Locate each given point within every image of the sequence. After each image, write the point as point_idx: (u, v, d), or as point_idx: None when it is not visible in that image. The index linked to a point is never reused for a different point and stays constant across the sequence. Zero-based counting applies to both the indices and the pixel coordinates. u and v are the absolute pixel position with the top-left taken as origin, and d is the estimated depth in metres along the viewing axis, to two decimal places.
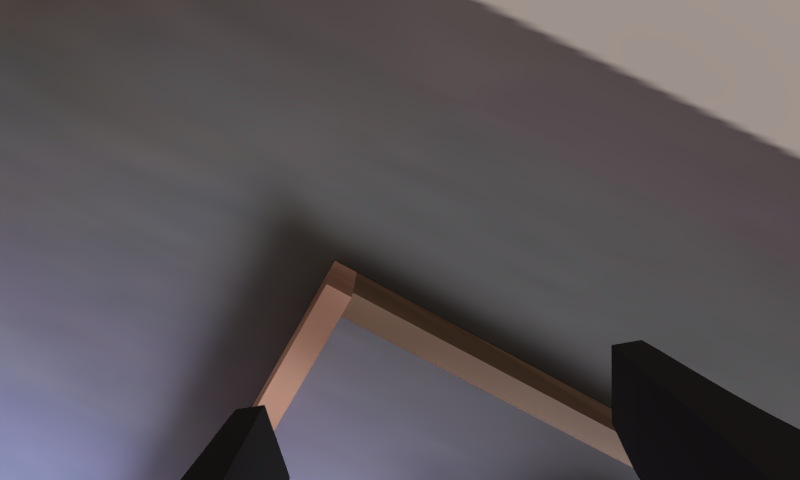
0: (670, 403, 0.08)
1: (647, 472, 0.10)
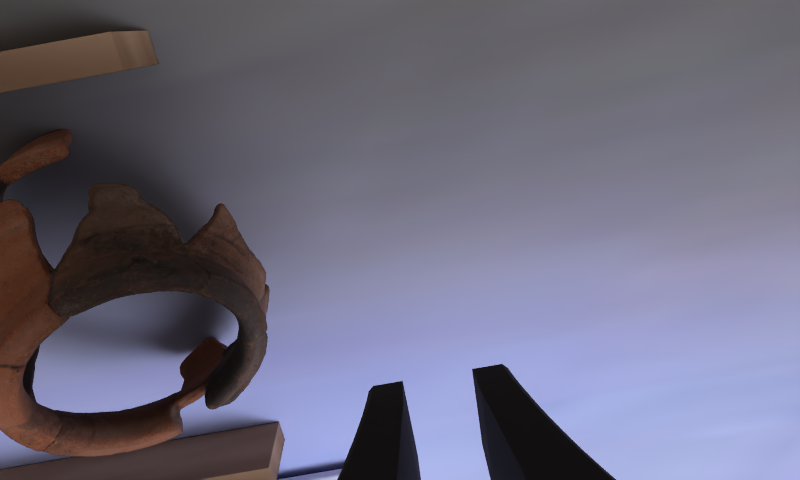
0: (498, 432, 0.08)
1: None
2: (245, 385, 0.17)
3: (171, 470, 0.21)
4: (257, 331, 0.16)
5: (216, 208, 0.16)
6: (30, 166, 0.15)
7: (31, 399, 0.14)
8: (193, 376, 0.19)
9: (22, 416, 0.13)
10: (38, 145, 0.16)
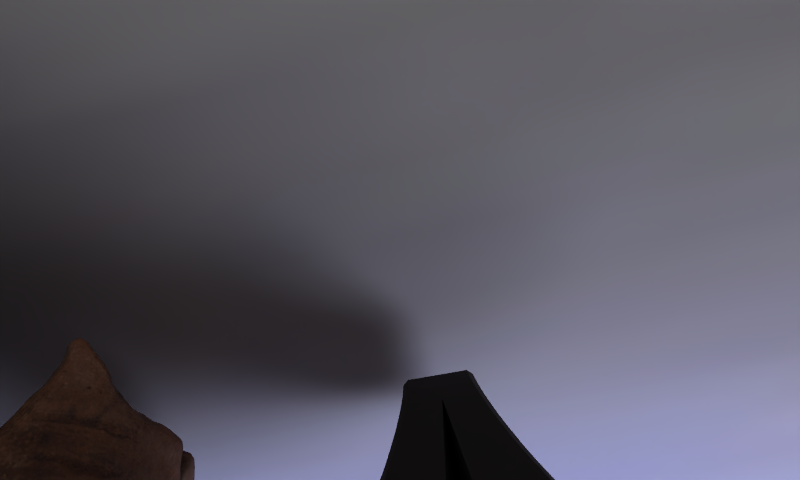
0: (455, 439, 0.08)
1: None
2: None
3: None
4: None
5: (68, 350, 0.08)
6: None
7: None
8: None
9: None
10: None
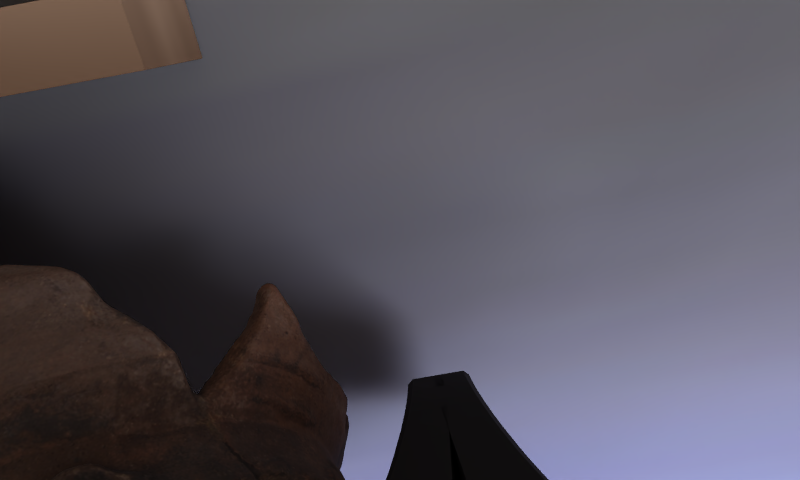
0: (450, 440, 0.08)
1: None
2: None
3: None
4: None
5: (260, 294, 0.08)
6: None
7: None
8: None
9: None
10: None
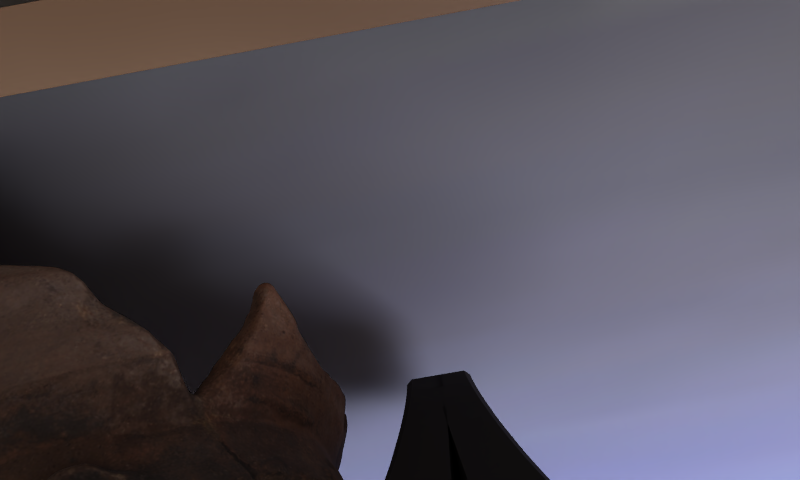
0: (451, 440, 0.08)
1: None
2: None
3: None
4: None
5: (257, 294, 0.08)
6: None
7: None
8: None
9: None
10: None
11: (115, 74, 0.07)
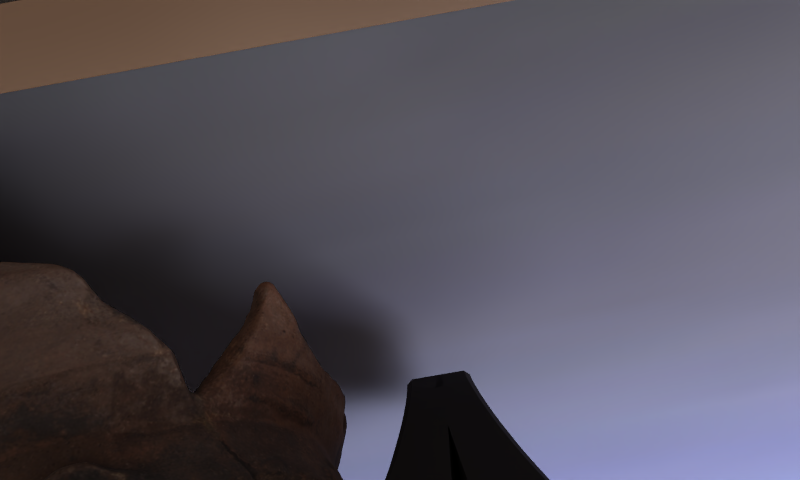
0: (451, 440, 0.08)
1: None
2: None
3: None
4: None
5: (258, 293, 0.08)
6: None
7: None
8: None
9: None
10: None
11: (387, 22, 0.07)
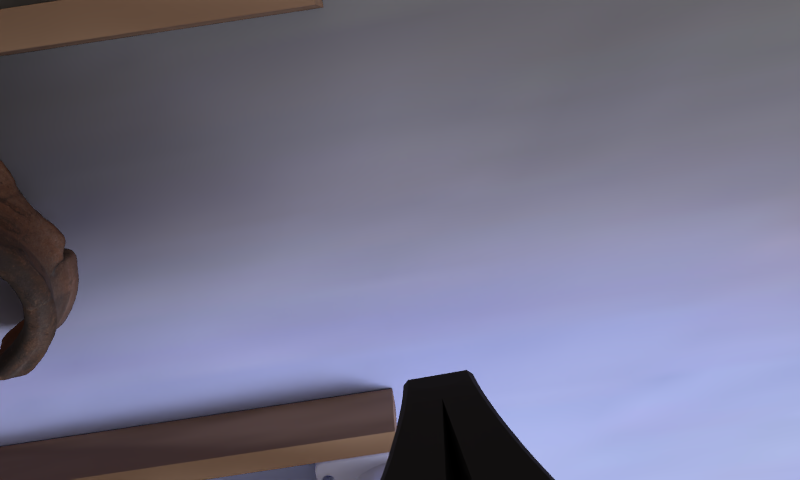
0: (455, 439, 0.08)
1: None
2: (39, 355, 0.16)
3: (290, 433, 0.20)
4: (36, 296, 0.15)
5: None
6: None
7: None
8: (7, 348, 0.18)
9: None
10: None
11: (45, 45, 0.14)
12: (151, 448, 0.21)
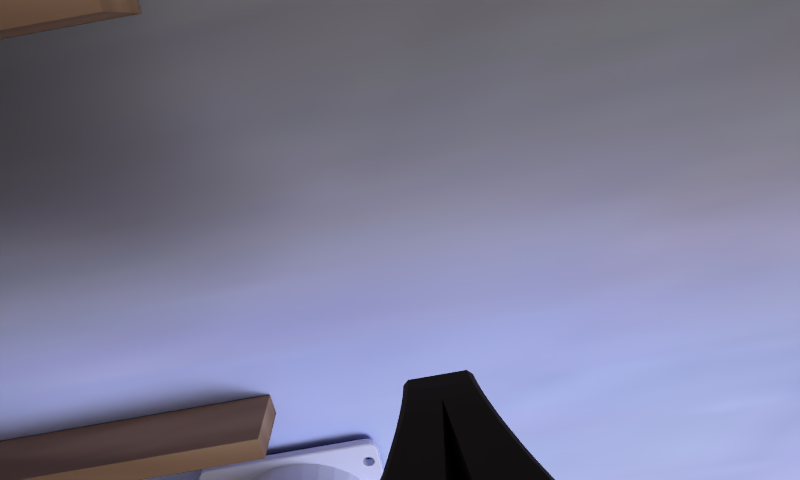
0: (455, 439, 0.08)
1: None
2: None
3: (158, 442, 0.20)
4: None
5: None
6: None
7: None
8: None
9: None
10: None
11: None
12: (21, 460, 0.20)
